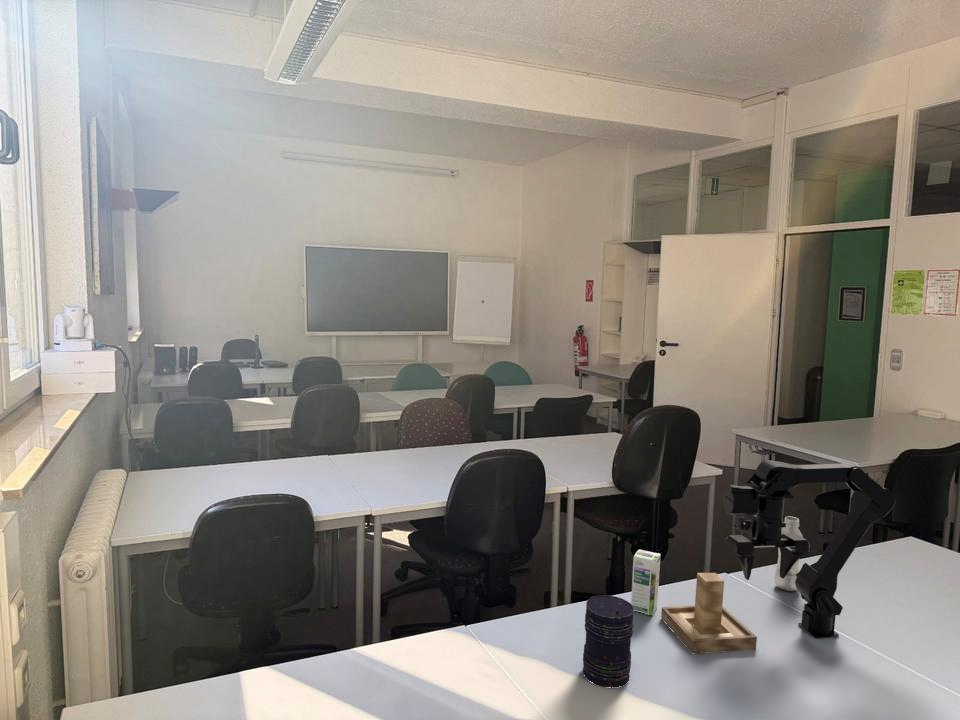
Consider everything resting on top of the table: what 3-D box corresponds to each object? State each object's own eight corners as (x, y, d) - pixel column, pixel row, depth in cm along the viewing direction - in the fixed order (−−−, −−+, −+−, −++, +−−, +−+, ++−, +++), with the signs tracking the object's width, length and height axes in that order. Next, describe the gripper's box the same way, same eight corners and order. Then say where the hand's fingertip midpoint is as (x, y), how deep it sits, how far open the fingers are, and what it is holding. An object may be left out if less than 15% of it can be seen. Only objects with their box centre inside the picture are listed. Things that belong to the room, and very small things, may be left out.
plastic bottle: (775, 591, 175) (781, 521, 173) (771, 581, 182) (777, 513, 180) (801, 595, 173) (807, 524, 171) (796, 585, 180) (802, 516, 178)
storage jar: (573, 665, 137) (577, 598, 136) (613, 657, 141) (617, 592, 139) (598, 692, 128) (602, 621, 126) (639, 683, 131) (644, 614, 130)
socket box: (719, 615, 161) (720, 604, 161) (755, 649, 146) (756, 636, 145) (661, 618, 158) (661, 607, 158) (692, 653, 143) (693, 641, 143)
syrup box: (629, 611, 162) (633, 555, 160) (635, 601, 167) (638, 547, 166) (652, 617, 159) (656, 560, 158) (657, 607, 164) (661, 552, 163)
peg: (711, 628, 154) (715, 572, 153) (719, 638, 150) (724, 581, 149) (693, 628, 154) (697, 573, 153) (701, 639, 150) (705, 581, 148)
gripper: (783, 503, 161) (778, 563, 163) (715, 504, 158) (710, 565, 159) (813, 518, 150) (808, 582, 152) (740, 520, 147) (735, 586, 148)
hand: (764, 578), depth 153 cm, fingers open, 9 cm apart
